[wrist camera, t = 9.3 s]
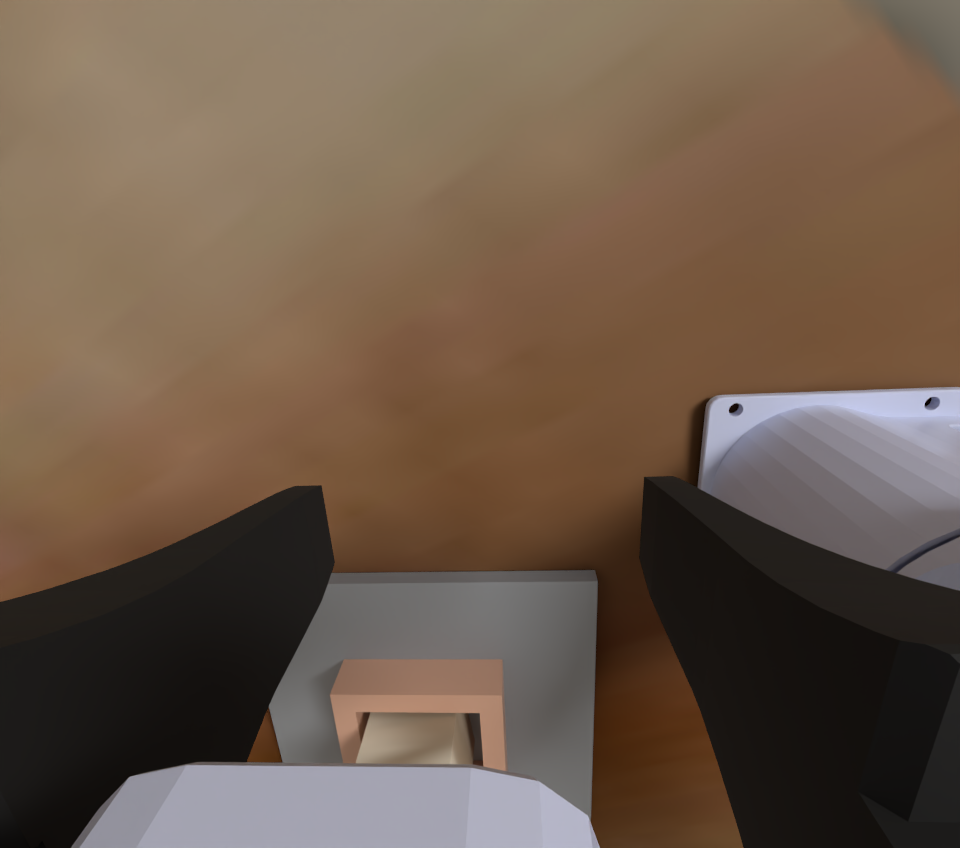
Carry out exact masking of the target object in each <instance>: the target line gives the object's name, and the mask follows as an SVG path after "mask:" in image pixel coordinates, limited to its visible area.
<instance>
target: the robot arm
mask: <svg viewBox="0 0 960 848" xmlns="http://www.w3.org/2000/svg"><path fill="white" fill-rule="evenodd" d="M930 397H931V399H932V400H931V402H930V404H929V405H927V406H925V402H926V400H927V399H929V398H930ZM735 403H738V404H739V407H738V410H737V411H736V412H734V413H729V408H730V406H731V405H733V404H735ZM639 558H640V562H641V565H642V569H643V573H644V576H645V580H646V583H647V587H648V590H649V593H650V597H651V599H652V601H653V604H654V606H655V608H656V611H657V613H658V615H659V617H660V620H661V622H662V624H663V626H664V629H665V631H666V633H667V635H668V637H669V640H670V642H671V644H672V646H673V648H674V651H675V653H676V655H677V657H678V660H679V662H680V664H681V666H682V668H683V671H684V673H685V675H686V677H687V679H688V682H689V684H690V686H691V688H692V691H693V693H694V696H695V698H696V701H697V703H698V706H699V708H700V711H701V714H702V717H703V720H704V723H705V726H706V729H707V732H708V735H709V738H710V741H711V744H712V747H713V750H714V753H715V756H716V759H717V762H718V765H719V768H720V771H721V774H722V778H723V781H724V784H725V787H726V790H727V794H728V797H729V800H730V803H731V807H732V810H733V813H734V816H735V819H736V823H737V826H738V829H739V833H740V836H741V840H742V843H743V847H744V848H960V387H941V388H912V389H882V390H853V391H823V392H794V393H764V394H735V395H718V396H714V397H713V398H711V399H710V400H709V401H708V402H707V405H706V408H705V417H704V428H703V438H702V448H701V458H700V468H699V478H698V488H697V487H695V486H693V485H691V484H689V483H687V482H685V481H683V480H681V479H679V478H676V477H674V476H666V477H644V490H643V507H642V523H641V539H640V556H639ZM334 563H335V561H334V556H333V550H332V544H331V538H330V533H329V527H328V521H327V515H326V509H325V504H324V498H323V492H322V486H321V485H320V486H294V487H291V488H288V489H286V490H283V491H281V492H279V493H276V494H274V495H272V496H270V497H268V498H266V499H264V500H262V501H260V502H258V503H256V504H254V505H252V506H250V507H248V508H246V509H244V510H242V511H240V512H238V513H236V514H234V515H232V516H230V517H228V518H226V519H224V520H222V521H220V522H218V523H216V524H214V525H212V526H210V527H208V528H206V529H204V530H202V531H200V532H197V533H195V534H193V535H191V536H189V537H187V538H185V539H183V540H180V541H178V542H176V543H174V544H172V545H170V546H167V547H165V548H163V549H160V550H158V551H155V552H153V553H151V554H148V555H146V556H143V557H141V558H138V559H135V560H133V561H130V562H128V563H125V564H122V565H120V566H117V567H114V568H111V569H109V570H106V571H103V572H100V573H97V574H93V575H90V576H87V577H84V578H81V579H78V580H75V581H72V582H69V583H66V584H62V585H59V586H56V587H53V588H50V589H47V590H43V591H40V592H36V593H33V594H29V595H25V596H22V597H18V598H14V599H11V600H7V601H3V602H0V848H600V847H599V844H598V842H597V839H596V836H595V833H594V831H593V828H592V825H591V822H590V820H589V817H588V815H586V814H585V813H583V812H582V811H581V810H579V809H578V808H576V807H575V806H573V805H572V804H571V803H569V802H568V801H566V800H565V799H564V798H562V797H561V796H559V795H558V794H556V793H555V792H554V791H552V790H551V789H549V788H548V787H547V786H545V785H544V784H542V783H541V782H539V781H538V780H537V779H535V778H534V777H532V776H528V775H523V774H518V773H513V772H508V771H503V770H498V769H493V768H488V767H483V766H478V765H473V764H373V763H263V762H247V759H248V757H249V754H250V752H251V749H252V746H253V744H254V741H255V739H256V736H257V734H258V731H259V729H260V726H261V724H262V721H263V718H264V716H265V713H266V711H267V709H268V707H269V704H270V702H271V700H272V698H273V696H274V694H275V691H276V689H277V687H278V685H279V683H280V682H281V680H282V678H283V676H284V674H285V672H286V670H287V668H288V666H289V664H290V662H291V660H292V658H293V656H294V655H295V653H296V651H297V649H298V647H299V645H300V643H301V641H302V639H303V637H304V635H305V633H306V631H307V629H308V627H309V625H310V624H311V622H312V620H313V618H314V616H315V614H316V612H317V610H318V608H319V606H320V603H321V601H322V599H323V596H324V593H325V591H326V588H327V585H328V582H329V579H330V576H331V573H332V570H333V566H334Z"/></svg>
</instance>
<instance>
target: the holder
mask: <svg viewBox="0 0 960 848" xmlns="http://www.w3.org/2000/svg"><path fill="white" fill-rule="evenodd" d="M597 592H598V580H597V576H596V572H595V570H559V571H469V572H380V573H331V576H330V579H329V582H328V585H327V588H326V591H325V593H324V596H323V599H322V601H321V603H320V606H319V608H318V610H317V612H316V614H315V616H314V618H313V620H312V622H311V624H310V625H309V627H308V629H307V631H306V633H305V635H304V637H303V639H302V641H301V643H300V645H299V647H298V649H297V651H296V653H295V655H294V656H293V658H292V660H291V662H290V664H289V666H288V668H287V670H286V672H285V674H284V676H283V678H282V680H281V682H280V683H279V685H278V687H277V689H276V691H275V694H274V696H273V698H272V700H271V702H270V704H269V709H270V713H271V717H272V721H273V725H274V729H275V733H276V737H277V741H278V745H279V749H280V753H281V757H282V761H283V763H356V760H357V756H358V753H359V750H360V746H361V743H362V739H363V736H364V733H365V729H366V726H367V723H368V719H369V716H370V712H408V713H468V714H469V718H470V722H471V726H472V731H473V735H474V739H475V743H474V757H473V765H478V766H483V767H488V768H493V769H498V770H503V771H508V772H513V773H518V774H523V775H528V776H532V777H534V778H535V779H537V780H538V781H539V782H541V783H542V784H544V785H545V786H547V787H548V788H549V789H551V790H552V791H554V792H555V793H556V794H558V795H559V796H561V797H562V798H564V799H565V800H566V801H568V802H569V803H571V804H572V805H573V806H575V807H576V808H578V809H579V810H581V811H582V812H583V813H585V814H586V815H588V817H589V820H590V822H591V797H592V763H593V729H594V695H595V661H596V627H597Z"/></svg>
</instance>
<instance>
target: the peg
mask: <svg viewBox="0 0 960 848" xmlns="http://www.w3.org/2000/svg"><path fill="white" fill-rule="evenodd" d="M474 743H475V739H474V735H473V731H472V726H471V722H470V718H469V714H468V713H408V712H370V716H369V719H368V723H367V726H366V729H365V733H364V736H363V739H362V743H361V746H360V750H359V753H358V756H357V760H356V763H373V764H473V757H474Z"/></svg>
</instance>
